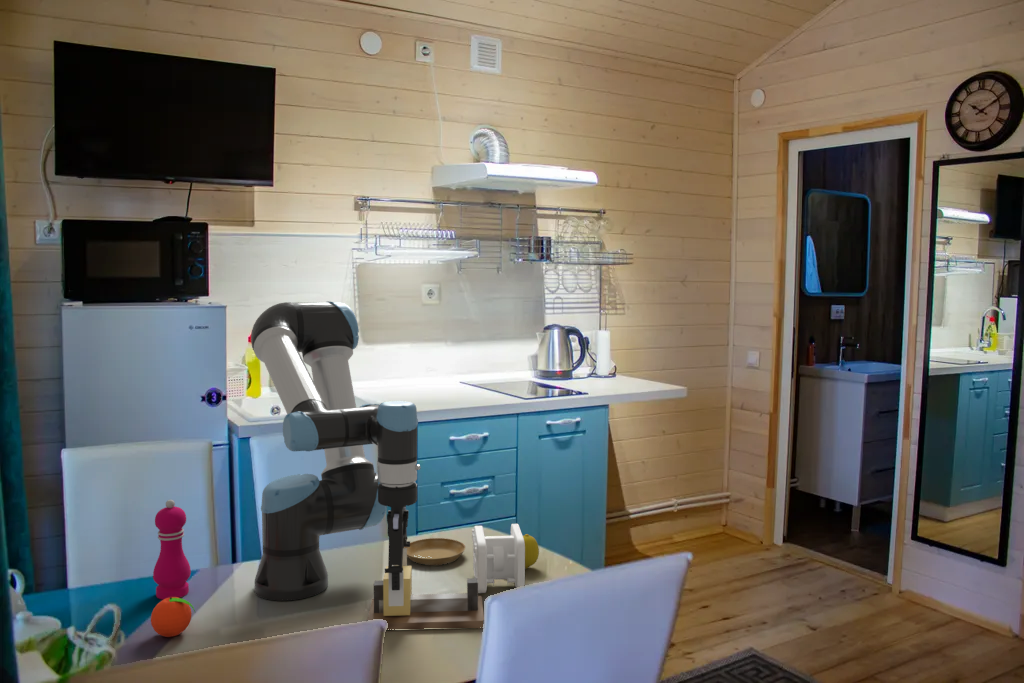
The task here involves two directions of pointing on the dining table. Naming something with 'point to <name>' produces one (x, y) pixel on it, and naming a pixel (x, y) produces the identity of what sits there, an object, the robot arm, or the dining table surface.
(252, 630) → the dining table surface
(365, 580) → the dining table surface
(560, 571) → the dining table surface
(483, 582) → the cable organizer
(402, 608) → the slider
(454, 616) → the rail board
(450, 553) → the plant saucer
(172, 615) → the clementine
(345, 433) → the robot arm
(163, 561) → the pepper mill
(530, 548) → the lemon
